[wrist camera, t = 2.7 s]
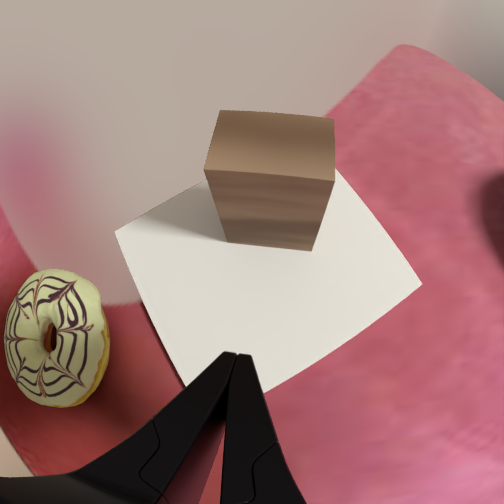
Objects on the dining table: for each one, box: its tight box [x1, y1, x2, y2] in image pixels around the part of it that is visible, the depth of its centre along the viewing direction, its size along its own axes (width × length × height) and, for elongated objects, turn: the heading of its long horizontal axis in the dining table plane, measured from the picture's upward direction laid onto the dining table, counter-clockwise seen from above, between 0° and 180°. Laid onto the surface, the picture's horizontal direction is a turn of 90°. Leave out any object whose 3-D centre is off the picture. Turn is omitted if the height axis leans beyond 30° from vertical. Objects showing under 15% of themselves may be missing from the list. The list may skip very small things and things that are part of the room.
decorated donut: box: [4, 268, 110, 408], centre depth 19 cm, size 10×11×4 cm
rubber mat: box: [115, 169, 422, 393], centre depth 22 cm, size 16×18×1 cm
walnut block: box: [204, 110, 335, 252], centre depth 19 cm, size 4×6×9 cm, turn 82°
